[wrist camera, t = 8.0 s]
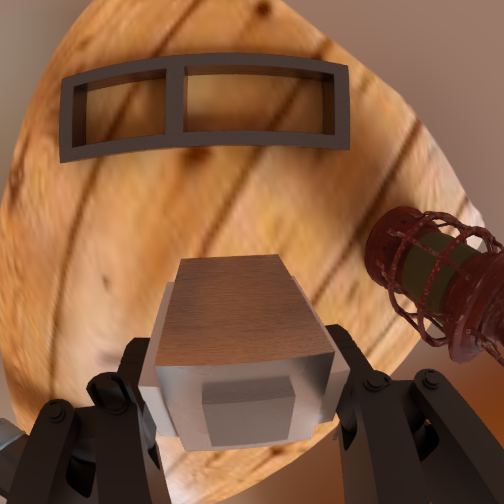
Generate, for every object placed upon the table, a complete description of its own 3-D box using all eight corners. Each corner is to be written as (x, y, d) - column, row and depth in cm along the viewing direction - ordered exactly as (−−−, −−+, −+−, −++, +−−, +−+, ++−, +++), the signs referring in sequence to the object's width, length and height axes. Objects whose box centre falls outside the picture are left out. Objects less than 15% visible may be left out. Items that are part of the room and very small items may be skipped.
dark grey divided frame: (74, 161, 22) (59, 163, 19) (75, 84, 19) (62, 79, 16) (336, 149, 25) (349, 150, 22) (335, 73, 22) (348, 65, 20)
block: (191, 337, 14) (184, 459, 7) (181, 258, 12) (151, 377, 6) (274, 331, 14) (313, 447, 8) (277, 254, 13) (341, 361, 6)
